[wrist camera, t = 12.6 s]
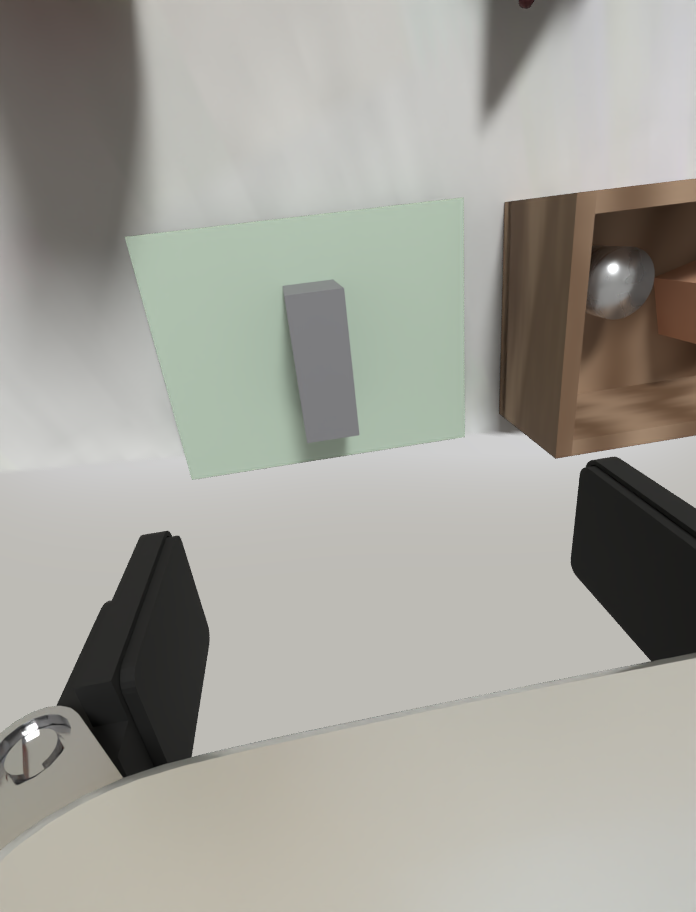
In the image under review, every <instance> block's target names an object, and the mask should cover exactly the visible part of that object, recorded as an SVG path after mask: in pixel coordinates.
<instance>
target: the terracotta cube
mask: <svg viewBox="0 0 696 912" xmlns="http://www.w3.org/2000/svg"><path fill="white" fill-rule="evenodd" d="M654 291H655V302H656V313H657V324H658V334H660V335H664V336H668V337H672V338H675V339H679V340H683V341H687V342H691V343H694V344H696V260H695V261H692V262H690V263H688V264H685V265H683V266H681V267H678V268H676V269H673V270H671V271H669V272H666V273H664V274H661V275H659V276H657V277H654Z"/></svg>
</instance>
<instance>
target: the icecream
mask: <svg viewBox="0 0 696 912" xmlns="http://www.w3.org/2000/svg"><path fill="white" fill-rule="evenodd" d="M533 2H534V0H519V5H520V7H522V8H525V9H526V8H529V7H530V6H531V5H532V3H533Z"/></svg>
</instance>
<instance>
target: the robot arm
mask: <svg viewBox="0 0 696 912" xmlns="http://www.w3.org/2000/svg"><path fill="white" fill-rule="evenodd" d="M578 488H579V489H578V497H577V506H576V516H575V526H574V535H573V543H572V553H571V566H572V569H573V571H574V573H575V575H576V576H577V577H578V578H579V580H580V581H581V582H582V583H583V584H584V585H585V586H586V588H587V589H588V590H589V591H590V592H591V593H592V594H593V596H594V597H595V598H596V599H597V600H598V601H599V602H600V603H601V605H602V606H603V607H604V608H605V609H606V610H607V611H608V612H609V614H610V615H611V616H612V617H613V618H614V619H615V620H616V622H617V623H618V624H619V625H620V626H621V627H622V629H623V630H624V631H625V632H626V633H627V634H628V635H629V636H630V638H631V639H632V640H633V641H634V642H635V643H636V644H637V646H638V647H639V648H640V649H641V650H642V651H643V652H644V654H645V655H646V656H647V657H648V658H649V659H650V660H651V662H646V663H641V664H636V665H631V666H625V667H620V668H615V669H610V670H605V671H600V672H595V673H590V674H584V675H580V676H575V677H570V678H564V679H559V680H554V681H549V682H545V683H539V684H534V685H529V686H525V687H519V688H515V689H509V690H505V691H500V692H494V693H490V694H485V695H480V696H475V697H470V698H465V699H460V700H455V701H450V702H445V703H440V704H435V705H430V706H425V707H421V708H416V709H411V710H406V711H401V712H396V713H392V714H387V715H382V716H377V717H373V718H368V719H363V720H358V721H354V722H349V723H344V724H339V725H334V726H329V727H324V728H320V729H315V730H310V731H306V732H301V733H296V734H291V735H287V736H282V737H277V738H273V739H268V740H264V741H259V742H255V743H250V744H246V745H241V746H237V747H232V748H228V749H224V750H220V751H215V752H211V753H206V754H202V755H198V756H195V757H191V756H192V750H193V744H194V737H195V731H196V724H197V718H198V712H199V706H200V699H201V693H202V687H203V680H204V674H205V667H206V661H207V655H208V648H209V628H208V624H207V621H206V618H205V615H204V611H203V609H202V605H201V602H200V599H199V595H198V592H197V589H196V586H195V582H194V579H193V576H192V573H191V569H190V566H189V563H188V560H187V557H186V553H185V550H184V547H183V543H182V541H181V538H180V537H179V536H173V537H172V535H171V533H170V532H169V531H164V532H158V533H151V534H146V535H142V536H141V537H140V538H139V540H138V543H137V545H136V547H135V549H134V551H133V554H132V556H131V558H130V560H129V563H128V565H127V568H126V570H125V572H124V574H123V577H122V579H121V581H120V583H119V585H118V588H117V590H116V592H115V595H114V597H113V599H112V601H108V602H106V603H105V604H104V605H103V607H102V608H101V610H100V612H99V615H98V617H97V619H96V621H95V623H94V625H93V627H92V630H91V632H90V634H89V636H88V638H87V641H86V643H85V645H84V647H83V649H82V651H81V654H80V656H79V658H78V660H77V662H76V664H75V667H74V669H73V671H72V673H71V675H70V678H69V680H68V682H67V684H66V686H65V688H64V691H63V693H62V695H61V697H60V699H59V701H58V704H57V706H54V707H46V708H43V709H40V710H38V711H34V712H32V713H30V714H28V715H26V716H24V717H23V718H21V719H19V720H17V721H16V722H14V723H13V724H12V725H10V726H9V727H8V728H6V729H5V730H4V731H3V732H2V733H0V912H696V508H694V507H693V506H691V505H690V504H688V503H687V502H685V501H684V500H682V499H681V498H679V497H677V496H676V495H674V494H673V493H671V492H670V491H668V490H667V489H665V488H664V487H662V486H661V485H659V484H658V483H656V482H655V481H653V480H651V479H650V478H648V477H647V476H645V475H644V474H642V473H641V472H639V471H638V470H636V469H634V468H633V467H631V466H630V465H629V464H627V463H626V462H624V461H623V460H621V459H619V458H617V457H610V458H603V459H597V460H591V461H589V462H588V463H587V465H586V468H583V469H582V470H581V472H580V478H579V487H578Z"/></svg>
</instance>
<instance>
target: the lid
mask: <svg viewBox="0 0 696 912" xmlns="http://www.w3.org/2000/svg"><path fill="white" fill-rule="evenodd" d="M125 240H126V244H127V247H128V251H129V255H130V258H131V262H132V265H133V269H134V273H135V276H136V280H137V283H138V287H139V291H140V294H141V298H142V301H143V305H144V309H145V312H146V316H147V319H148V323H149V327H150V330H151V334H152V337H153V341H154V345H155V348H156V352H157V355H158V359H159V363H160V366H161V370H162V374H163V377H164V381H165V384H166V388H167V392H168V395H169V399H170V402H171V406H172V410H173V413H174V417H175V420H176V424H177V428H178V431H179V435H180V438H181V442H182V446H183V449H184V453H185V456H186V460H187V464H188V467H189V471H190V474H191V478H192V480H194V479H200V478H206V477H213V476H219V475H226V474H232V473H239V472H245V471H251V470H258V469H264V468H270V467H276V466H283V465H290V464H296V463H302V462H308V461H315V460H321V459H328V458H333V457H340V456H347V455H352V454H359V453H365V452H372V451H379V450H385V449H391V448H398V447H404V446H410V445H417V444H423V443H429V442H436V441H442V440H448V439H455V438H461V437H465V399H464V197H463V198H454V199H446V200H437V201H428V202H420V203H411V204H403V205H394V206H385V207H377V208H368V209H360V210H351V211H343V212H334V213H325V214H317V215H308V216H300V217H291V218H282V219H274V220H265V221H257V222H248V223H239V224H231V225H222V226H214V227H205V228H196V229H188V230H179V231H171V232H162V233H154V234H145V235H136V236H128V237H125Z"/></svg>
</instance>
